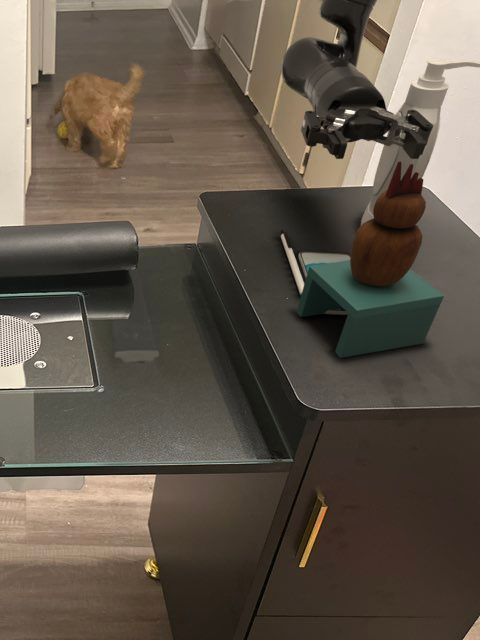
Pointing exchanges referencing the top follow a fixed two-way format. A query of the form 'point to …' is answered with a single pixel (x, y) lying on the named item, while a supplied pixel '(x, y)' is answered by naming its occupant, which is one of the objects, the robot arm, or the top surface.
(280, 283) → the top surface
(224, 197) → the top surface
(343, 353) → the shelf
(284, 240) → the pen
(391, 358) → the top surface
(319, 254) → the smartphone
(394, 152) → the soap bottle
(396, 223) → the wooden figurine
